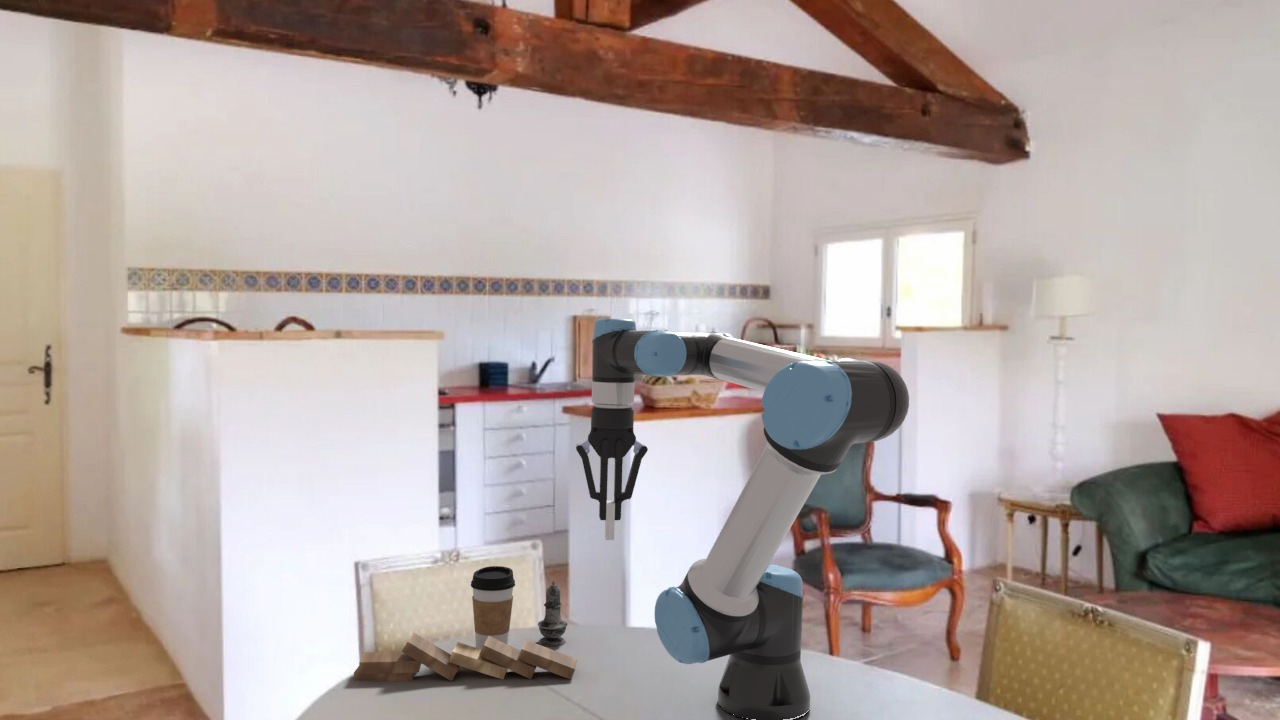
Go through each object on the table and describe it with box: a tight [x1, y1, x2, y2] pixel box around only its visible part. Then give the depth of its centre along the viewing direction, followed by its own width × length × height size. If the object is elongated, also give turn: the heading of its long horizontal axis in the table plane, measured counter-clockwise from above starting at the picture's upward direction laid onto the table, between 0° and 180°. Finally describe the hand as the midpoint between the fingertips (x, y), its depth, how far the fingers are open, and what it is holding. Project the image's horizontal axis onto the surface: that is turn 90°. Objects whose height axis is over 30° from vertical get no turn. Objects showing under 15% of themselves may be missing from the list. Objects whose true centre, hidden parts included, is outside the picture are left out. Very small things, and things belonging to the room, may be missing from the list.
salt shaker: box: [537, 581, 569, 647], centre depth 184 cm, size 6×6×12 cm
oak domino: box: [449, 641, 508, 680], centre depth 166 cm, size 2×5×10 cm
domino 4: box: [479, 636, 537, 680], centre depth 167 cm, size 2×5×10 cm
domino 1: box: [358, 651, 422, 674], centre depth 164 cm, size 2×5×10 cm
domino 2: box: [353, 666, 418, 682], centre depth 165 cm, size 2×5×10 cm
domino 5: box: [518, 639, 578, 681], centre depth 167 cm, size 2×5×10 cm
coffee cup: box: [470, 565, 516, 650], centre depth 179 cm, size 8×8×15 cm
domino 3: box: [401, 632, 461, 682], centre depth 165 cm, size 2×5×10 cm
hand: (609, 538), depth 167 cm, fingers closed
